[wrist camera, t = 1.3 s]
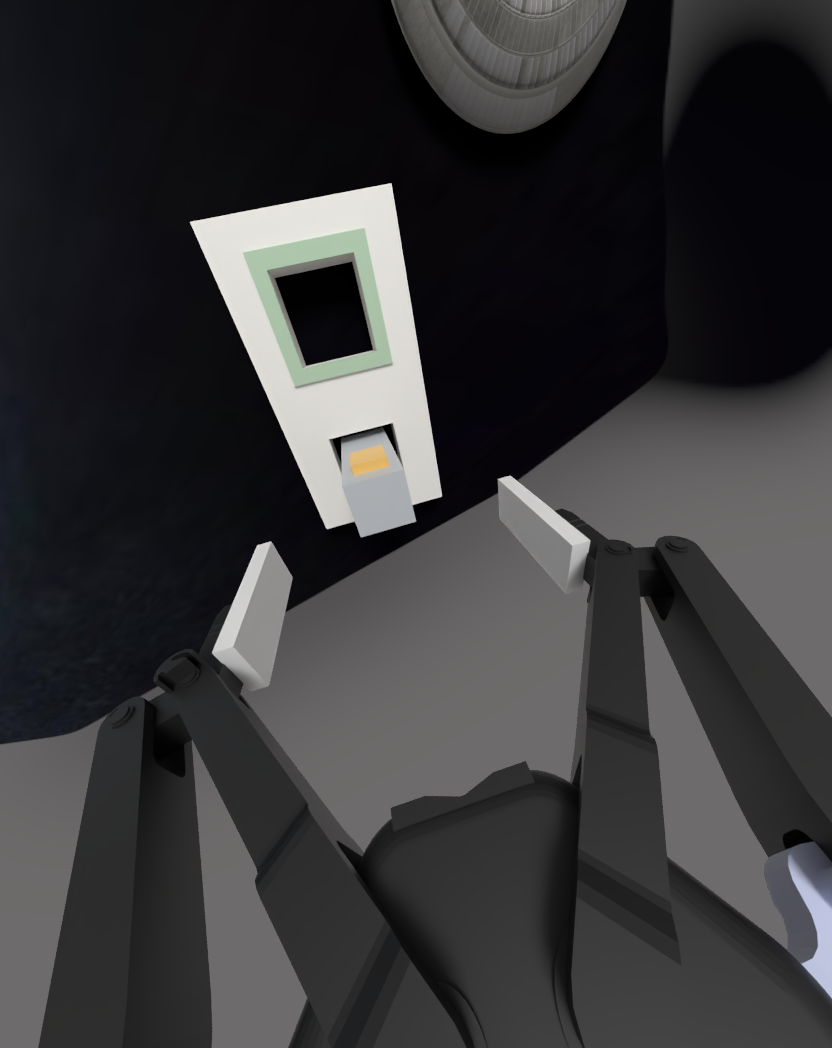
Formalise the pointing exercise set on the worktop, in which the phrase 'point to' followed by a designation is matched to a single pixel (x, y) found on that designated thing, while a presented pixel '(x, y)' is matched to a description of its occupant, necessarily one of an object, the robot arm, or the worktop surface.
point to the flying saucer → (507, 54)
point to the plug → (375, 483)
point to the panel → (341, 384)
